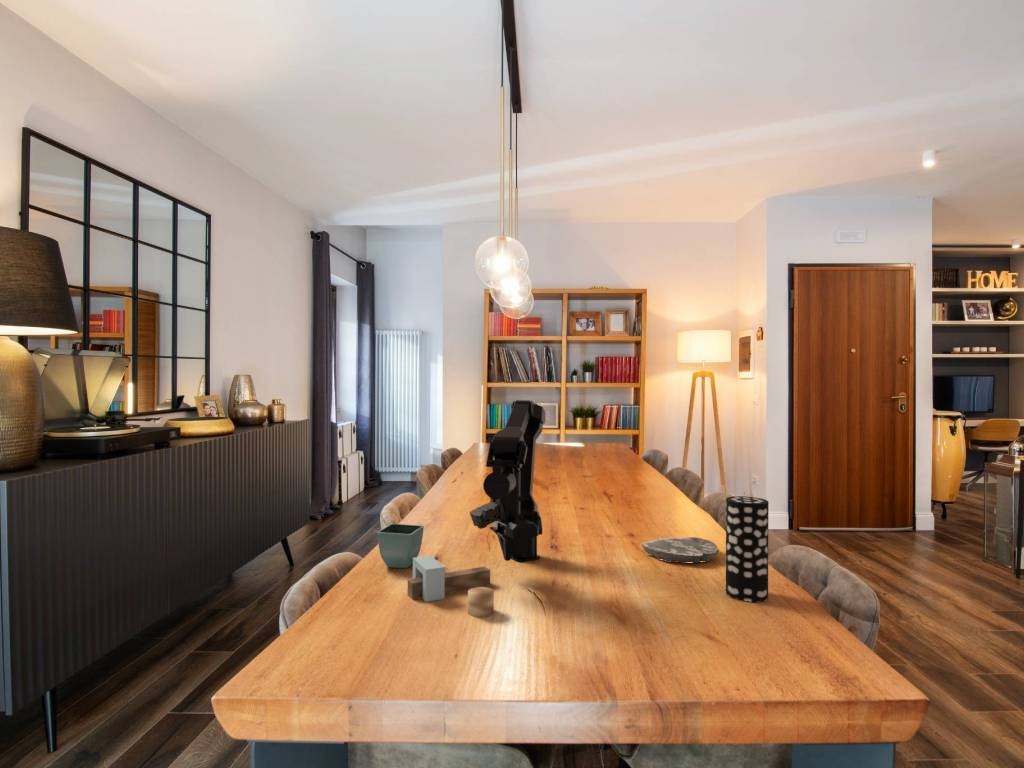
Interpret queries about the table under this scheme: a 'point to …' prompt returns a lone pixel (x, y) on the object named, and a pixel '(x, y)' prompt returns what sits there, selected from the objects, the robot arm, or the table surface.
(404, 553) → the flower pot
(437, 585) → the grey arch block
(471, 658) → the table surface
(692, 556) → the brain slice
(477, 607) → the bead
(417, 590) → the brown wooden bar
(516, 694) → the table surface
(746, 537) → the white-spotted black cylinder
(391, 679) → the table surface
